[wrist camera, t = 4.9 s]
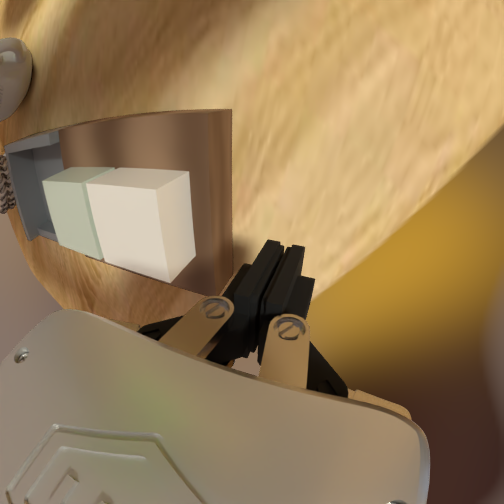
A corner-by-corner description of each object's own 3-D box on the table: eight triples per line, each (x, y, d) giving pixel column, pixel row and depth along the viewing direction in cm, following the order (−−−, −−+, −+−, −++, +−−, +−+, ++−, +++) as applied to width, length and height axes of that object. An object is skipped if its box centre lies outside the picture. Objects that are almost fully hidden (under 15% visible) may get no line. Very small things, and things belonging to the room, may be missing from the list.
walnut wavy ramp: (231, 109, 15) (207, 112, 12) (232, 273, 21) (216, 298, 19) (84, 121, 18) (58, 130, 16) (105, 240, 25) (85, 256, 23)
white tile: (189, 171, 14) (155, 189, 12) (196, 255, 17) (170, 283, 15) (119, 167, 16) (85, 183, 14) (132, 239, 19) (105, 261, 16)
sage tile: (114, 167, 16) (81, 183, 14) (127, 238, 19) (100, 260, 17) (71, 167, 18) (41, 180, 15) (84, 227, 20) (59, 245, 18)
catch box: (84, 121, 18) (48, 133, 15) (105, 240, 25) (78, 261, 22) (31, 135, 22) (4, 145, 18) (49, 224, 28) (27, 239, 25)
